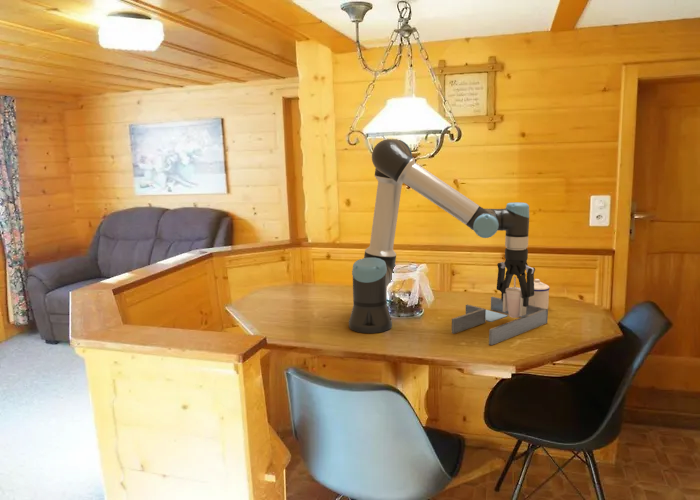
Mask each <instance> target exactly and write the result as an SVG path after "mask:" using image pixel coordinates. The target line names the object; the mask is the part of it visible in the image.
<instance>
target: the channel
mask: <svg viewBox="0 0 700 500" xmlns="http://www.w3.org/2000/svg"><path fill="white" fill-rule="evenodd" d="M486 310H487V308H483V307H479V306H475V305H471V304H465V314H463V315H459V316H456V317H453V318H451V334H458V333H460V332H463V331H466V330H469V329H471V328H474V327H477V326H481V325H482V324H485V323H486V321H485V319H486ZM490 311H493V312H497V313H501V314H505V315H509V314H508V311H505V312H503V301H502V300H501V297H496V296H491V297H490ZM548 317H549V308H548V309H545V308H540V307H536V306H532V305H528V306H527V307H526V315H523V316H520V317H518V318H515V319H514V320H511V321H509V322H506V323H503V324H500V325H497V326H495V327H492V328H490V329H488V334H489V335H488V345H489V346H493V345H496V344H498V343H501V342H504V341H506V340H508V339H511V338H514V337H516V336H519V335H522V334H524V333H526V332H529V331H531V330H534V329H536V328H538V327H541V326H543V325H546V324H548Z"/></svg>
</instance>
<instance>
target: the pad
mask: <svg viewBox="0 0 700 500" xmlns="http://www.w3.org/2000/svg"><path fill="white" fill-rule="evenodd" d="M506 317H509V314H505V313H501V312H497V311H493V310H489V309H486V319H485V322H488V323H489V322H490V323H493V322H495V321H498V320H500V319H504V318H506Z"/></svg>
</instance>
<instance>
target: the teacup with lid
mask: <svg viewBox="0 0 700 500" xmlns="http://www.w3.org/2000/svg"><path fill="white" fill-rule="evenodd" d="M550 289H551V288H550V286H549V285H548V284H546V283H544V282H542V281H541V279H539V278H534V296H531V297H529V302H528V305H532V306H536V307H540V308H545V309H548V310H549V299H550V298H549V296H550V293H549V292H550V291H549V290H550Z"/></svg>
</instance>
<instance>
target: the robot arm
mask: <svg viewBox="0 0 700 500" xmlns="http://www.w3.org/2000/svg"><path fill="white" fill-rule="evenodd" d="M412 152H413V151H412V150H411V148H410V146H409V145H408V144H407V143H406V142H405V141H404V140H401V139H398V138H390V139H389V138H388V139H387V138H386V139H383V140H381V141H379V142H378V143H376V145H375V146H374V147H373V150H372V153H371V162H372V164H373V166H374V167H375V169H374V177H375V179H376V180H377V187H376V193H375V194H376V195H375V196H376V197H375V203H374V210H373V211H374V212H373V217H372V226H371V233H370V234H371V235H370V240H369V241H370V243H369V246H368V247H366V249H364V254H363V256H364V257H363V258H360V259H357V260H355V262H354V263H353V265H352V271H351V276H352V296H353V298H352V299H353V301H352V302H353V304H352V309H351V313H350V317H349V319H348V328H349V329H350V330H351V331H354V332H356V333H361V334H376V333H378V334H379V333H382V332H383V333H384V332H386V331H389V330H390V329H392V327H393V319H392V317H391V314H390V311H389V307H388V302H387V301H388V295H387V294H388V293H387V289H388V288H387V287H388V285H389V284H390V283H391V282H392V281H393V280H392V272H393V269H394V267H395V266H396V261H397V253H396V251H395V250H394V245H395V237H396V229H397V222H398V215H399V208H400V202H401V194H402V187H403V184H405V185H406V186H408V187H409V188H411V189H412V190H413V191H415V192H417V193H418V194H420V195H421V196H422V197H424V199H427V200H428V201H430V202H431V203H433V204H435V205H436V206H438V208H440V209H441V210H443V211H444V212H447V213H448V214H449V215H451V216H452V217H454V218H456V219H457V220H458V221H460V222H461V223H463V224H464V225H465V226H467V228H469V229H470V230H471V231H473V232H474V233H475V234H476V235H477V236H478V237H479V238H483V239H488V238H489V239H490V238H491V237H494V235H495V234H496V233H497V232H499V231H500V232H503V231H505V236H504V237H505V239H504V240H505V241H504V246H505V249H504V258H505V260H504V261H501V262H498V263H497V269H498V270H497V279H496V290H497V291H498V292H500V293H501V297H500V298H501V300H502V301H503V312H505V311H508V304H507V293H506V292H505V291H506V288H510V286H511V282H512V279H513V278H514V276H516V279H518V283H519V288H521V292H522V297H520V316H523V315H526V307H527V306H528V302H529V297H531V296H534V280H535V271H536V268H535V266H534V267H531V266H529V264H528V255H529V250H528V247H529V231H530V230H529V229H530V206H529V204H528V203H527V202H508V203H506V206H505V208H483V207H482V206H481V205H479V204H477V203H476V202H475V201H473V200H472V199H470V198H469V197H467V196H466V195H464V194H463V193H461V192H460V191H459V190H457V189H455V188H453V187H452V186H451V185H449V184H448V183H446V182H445V181H444V180H442V179H441V178H439V177H438V176H436V175H434V174H433V173H431V171H428V170H427V169H426V168H424V167H422V166H421V165H420V164H418V163H416V159H415V157H413V153H412ZM396 267H397V266H396ZM391 280H392V281H391Z"/></svg>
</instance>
